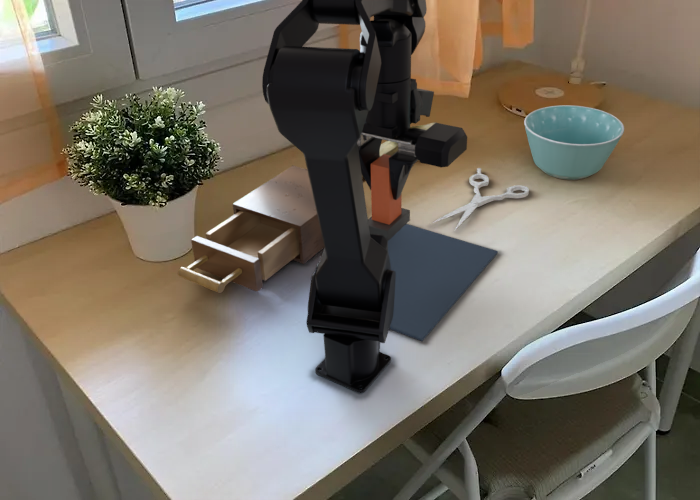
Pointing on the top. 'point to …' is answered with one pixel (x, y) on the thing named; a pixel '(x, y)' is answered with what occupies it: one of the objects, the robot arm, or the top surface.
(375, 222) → the stamp
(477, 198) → the scissors
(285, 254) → the drawer
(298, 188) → the cabinet
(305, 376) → the top surface
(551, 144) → the bowl
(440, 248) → the mat
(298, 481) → the top surface
